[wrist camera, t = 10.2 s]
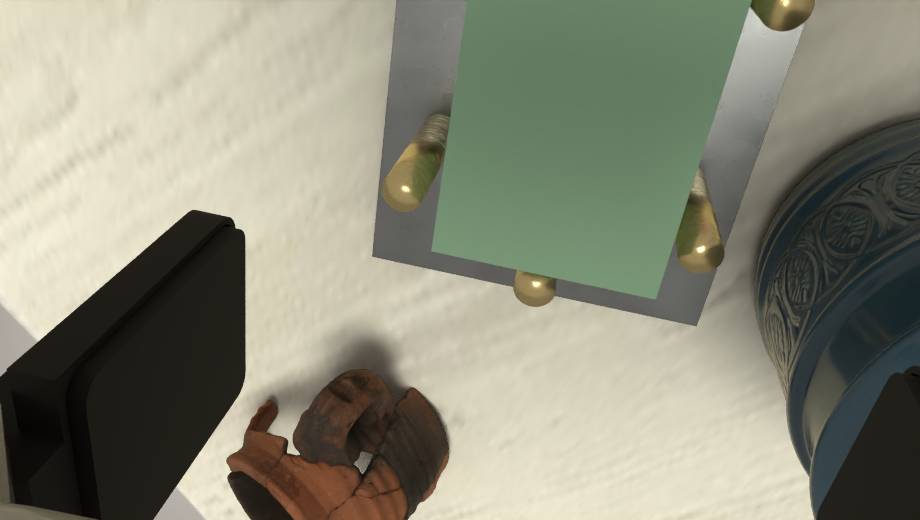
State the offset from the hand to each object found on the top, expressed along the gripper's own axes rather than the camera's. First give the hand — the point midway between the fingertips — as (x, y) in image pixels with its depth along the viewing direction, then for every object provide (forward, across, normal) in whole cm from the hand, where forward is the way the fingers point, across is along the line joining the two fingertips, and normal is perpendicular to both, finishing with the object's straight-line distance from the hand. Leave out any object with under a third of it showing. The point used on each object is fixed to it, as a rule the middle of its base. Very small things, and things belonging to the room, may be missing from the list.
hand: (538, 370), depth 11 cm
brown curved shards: (+20, +7, +20) cm, 30 cm away
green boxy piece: (+16, 0, 0) cm, 16 cm away
